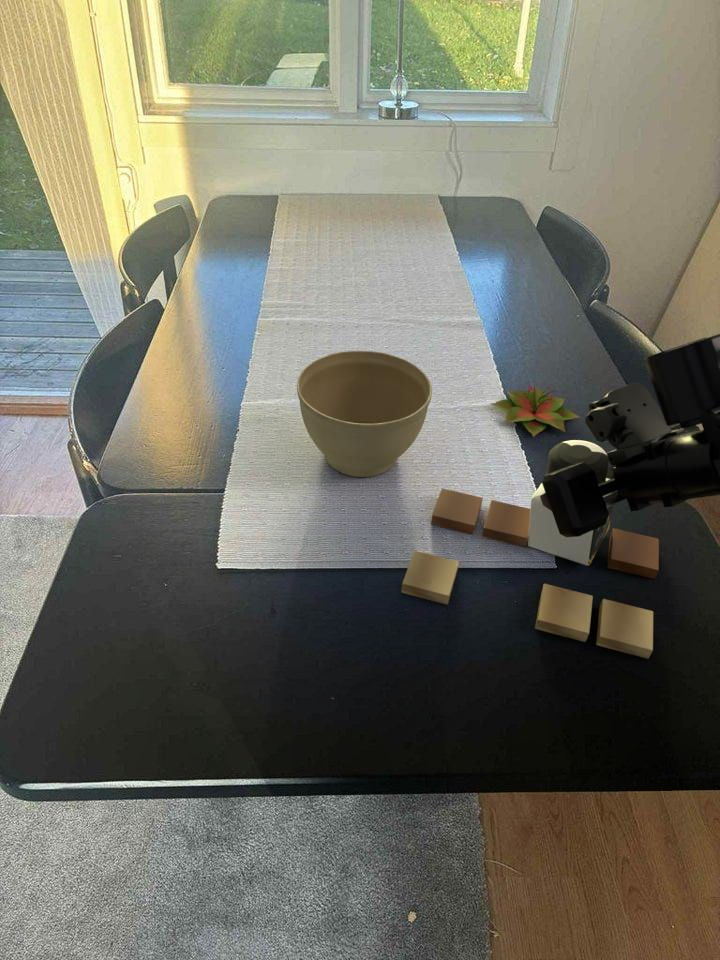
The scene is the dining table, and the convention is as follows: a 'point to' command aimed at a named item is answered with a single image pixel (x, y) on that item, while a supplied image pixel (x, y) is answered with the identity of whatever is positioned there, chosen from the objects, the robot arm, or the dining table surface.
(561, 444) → the medicine bottle
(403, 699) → the dining table surface
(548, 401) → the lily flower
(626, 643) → the set of tan blocks
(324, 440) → the planter bowl
